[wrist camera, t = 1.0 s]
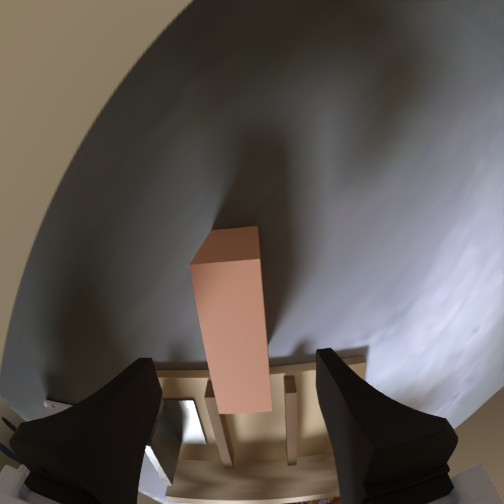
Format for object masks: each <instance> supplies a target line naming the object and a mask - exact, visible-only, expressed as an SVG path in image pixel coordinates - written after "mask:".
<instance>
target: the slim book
mask: <svg viewBox="0 0 504 504" xmlns="http://www.w3.org/2000/svg"><path fill="white" fill-rule="evenodd" d="M190 270H191V276H192V282H193V288H194V294H195V300H196V305H197V311H198V316H199V322H200V327H201V332H202V337H203V343H204V348H205V352H206V357H207V362H208V367H209V372H210V376H211V381H212V385H213V390H214V394H215V398H216V403H217V407H218V411H219V414H235V413H256V412H271V411H272V400H271V385H270V370H269V356H268V342H267V329H266V317H265V305H264V293H263V281H262V270H261V258H260V246H259V235H258V226H252V227H240V228H229V229H218V230H211V231H210V233H209V234H208V236H207V238H206V239H205V241H204V242H203V244H202V246H201V247H200V249H199V250H198V252H197V254H196V255H195V257H194V258H193V260H192V262H191V263H190Z"/></svg>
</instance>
